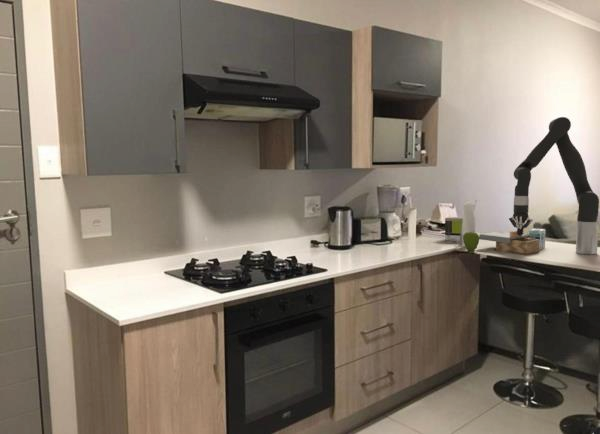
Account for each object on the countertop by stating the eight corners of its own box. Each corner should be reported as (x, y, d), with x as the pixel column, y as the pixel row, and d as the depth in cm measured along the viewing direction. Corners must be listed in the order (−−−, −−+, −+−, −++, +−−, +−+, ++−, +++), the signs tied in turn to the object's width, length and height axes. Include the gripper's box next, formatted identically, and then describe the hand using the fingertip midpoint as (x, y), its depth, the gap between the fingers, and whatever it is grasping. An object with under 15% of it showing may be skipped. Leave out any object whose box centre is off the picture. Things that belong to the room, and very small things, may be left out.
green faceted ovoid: (482, 251, 281) (482, 231, 280) (471, 253, 277) (472, 232, 276) (470, 249, 289) (470, 229, 288) (459, 251, 285) (459, 230, 283)
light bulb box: (541, 250, 285) (541, 230, 284) (528, 248, 289) (528, 230, 288) (545, 247, 293) (546, 228, 292) (532, 246, 298) (533, 228, 296)
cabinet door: (524, 240, 285) (525, 229, 285) (509, 243, 276) (510, 232, 276) (494, 236, 300) (494, 226, 300) (479, 239, 292) (479, 228, 291)
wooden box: (539, 252, 278) (539, 239, 277) (526, 254, 270) (526, 241, 270) (508, 248, 292) (509, 236, 292) (495, 250, 285) (496, 238, 284)
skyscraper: (473, 245, 304) (474, 199, 301) (476, 247, 296) (478, 200, 293) (459, 245, 305) (460, 199, 302) (462, 247, 297) (463, 200, 294)
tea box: (472, 240, 324) (473, 217, 323) (468, 242, 316) (469, 218, 314) (448, 238, 332) (449, 216, 331) (444, 240, 324) (444, 217, 322)
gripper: (536, 204, 274) (535, 236, 276) (513, 203, 285) (512, 233, 287) (528, 205, 270) (527, 237, 272) (506, 203, 280) (505, 234, 282)
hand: (520, 235), depth 279 cm, fingers closed
